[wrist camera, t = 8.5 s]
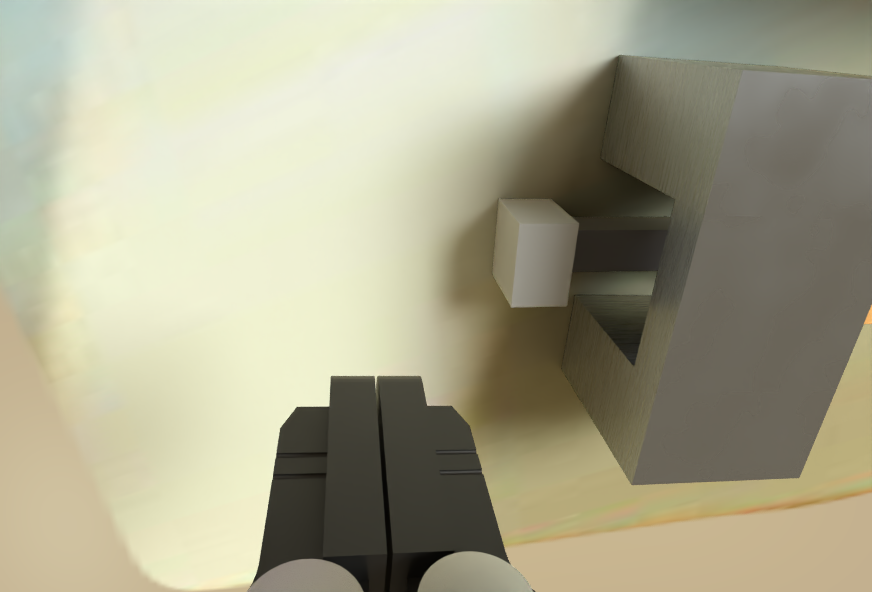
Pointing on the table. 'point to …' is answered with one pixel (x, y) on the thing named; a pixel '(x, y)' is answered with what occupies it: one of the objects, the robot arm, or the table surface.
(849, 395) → the table surface
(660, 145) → the housing
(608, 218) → the plug
